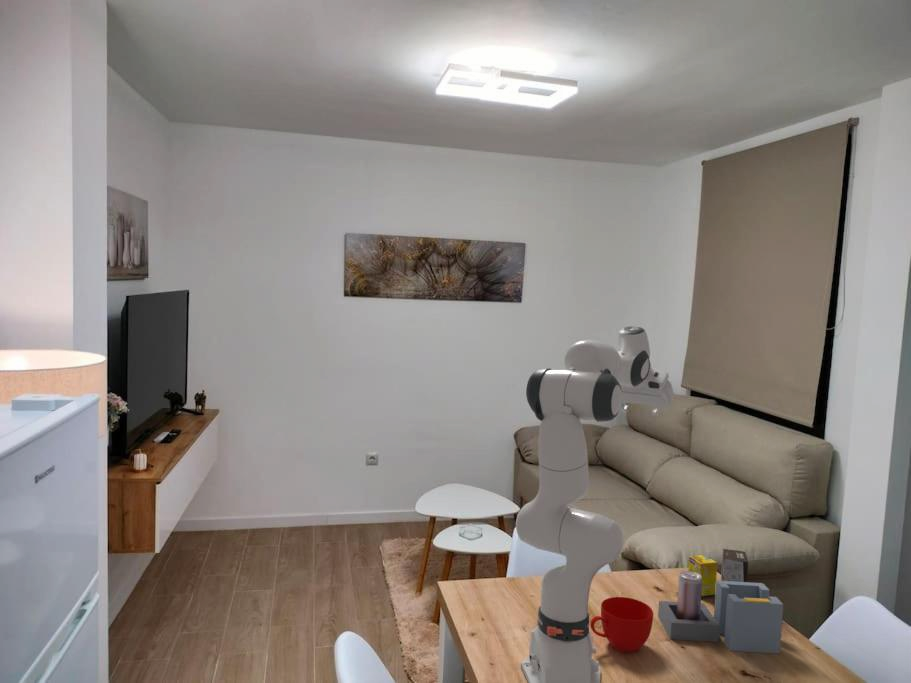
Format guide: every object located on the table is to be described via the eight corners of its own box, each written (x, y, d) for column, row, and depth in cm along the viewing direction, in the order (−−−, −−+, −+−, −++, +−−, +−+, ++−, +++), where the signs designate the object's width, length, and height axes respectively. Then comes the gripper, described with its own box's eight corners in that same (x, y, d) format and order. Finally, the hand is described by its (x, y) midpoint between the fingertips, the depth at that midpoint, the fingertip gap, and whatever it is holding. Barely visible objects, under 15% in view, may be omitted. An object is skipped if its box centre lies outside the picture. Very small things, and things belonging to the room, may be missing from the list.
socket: (779, 653, 170) (783, 602, 169) (729, 650, 171) (733, 599, 170) (759, 629, 183) (763, 581, 182) (713, 626, 183) (716, 579, 182)
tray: (718, 642, 175) (719, 625, 174) (670, 639, 175) (671, 622, 175) (702, 619, 187) (704, 603, 187) (657, 616, 188) (658, 600, 187)
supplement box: (686, 590, 206) (688, 555, 205) (702, 588, 207) (705, 554, 207) (698, 599, 200) (701, 563, 199) (715, 597, 202) (717, 562, 201)
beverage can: (680, 621, 185) (683, 568, 184) (701, 628, 182) (705, 575, 180) (672, 629, 181) (675, 575, 180) (694, 636, 177) (697, 581, 176)
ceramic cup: (576, 639, 173) (578, 602, 172) (630, 630, 179) (633, 594, 178) (604, 665, 161) (606, 625, 160) (661, 655, 167) (664, 616, 166)
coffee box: (744, 617, 189) (748, 562, 188) (720, 613, 191) (724, 558, 190) (742, 604, 198) (746, 551, 197) (718, 600, 200) (722, 547, 199)
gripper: (598, 378, 199) (603, 415, 206) (668, 385, 189) (671, 424, 195) (605, 366, 204) (610, 403, 210) (673, 373, 193) (676, 411, 200)
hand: (640, 413), depth 203 cm, fingers open, 8 cm apart
